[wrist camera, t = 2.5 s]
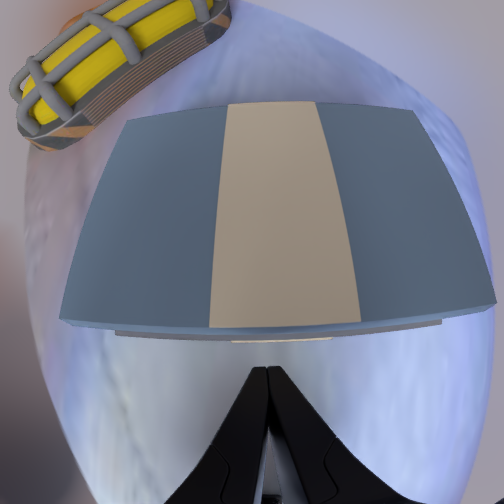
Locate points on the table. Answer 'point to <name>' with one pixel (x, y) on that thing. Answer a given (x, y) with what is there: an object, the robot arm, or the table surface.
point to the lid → (275, 225)
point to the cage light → (108, 64)
